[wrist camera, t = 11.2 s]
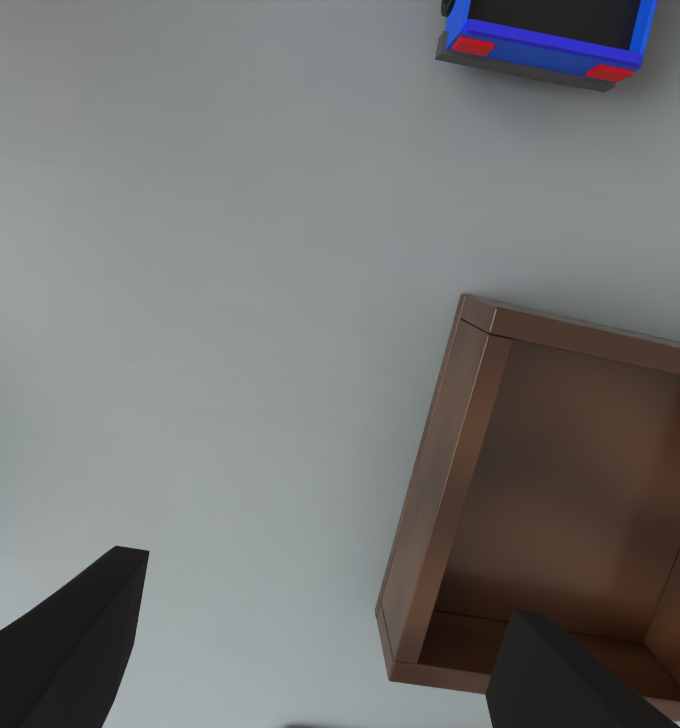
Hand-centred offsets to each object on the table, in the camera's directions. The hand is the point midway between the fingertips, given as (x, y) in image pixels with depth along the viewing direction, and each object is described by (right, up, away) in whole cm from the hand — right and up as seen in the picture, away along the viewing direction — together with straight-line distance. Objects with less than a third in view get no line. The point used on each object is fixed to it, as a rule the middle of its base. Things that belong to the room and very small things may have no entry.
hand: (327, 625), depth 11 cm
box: (+9, 0, +10) cm, 13 cm away
